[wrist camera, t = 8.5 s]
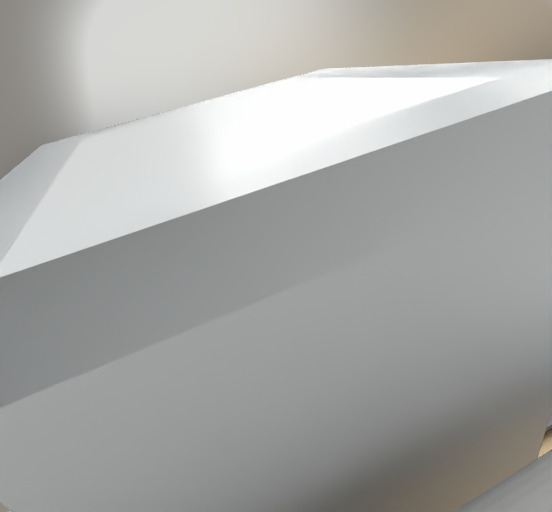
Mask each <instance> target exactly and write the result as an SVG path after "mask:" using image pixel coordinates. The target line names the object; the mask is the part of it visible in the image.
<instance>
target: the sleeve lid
mask: <svg viewBox="0 0 552 512" xmlns="http://www.w3.org/2000/svg"><path fill="white" fill-rule="evenodd" d="M551 411H552V59H547V60H546V59H545V60H523V61H498V62H475V63H450V64H429V65H428V64H427V65H405V66H404V65H403V66H379V67H356V68H332V69H321V70H317V71H314V72H310V73H306V74H303V75H299V76H295V77H291V78H288V79H284V80H280V81H277V82H273V83H269V84H266V85H262V86H258V87H255V88H251V89H247V90H244V91H240V92H236V93H233V94H229V95H225V96H221V97H218V98H214V99H210V100H207V101H203V102H199V103H196V104H192V105H188V106H185V107H181V108H177V109H174V110H170V111H166V112H163V113H159V114H155V115H152V116H148V117H144V118H140V119H136V120H133V121H129V122H125V123H122V124H118V125H114V126H111V127H107V128H103V129H100V130H96V131H92V132H89V133H85V134H81V135H78V136H74V137H70V138H67V139H63V140H59V141H56V142H52V143H48V144H45V145H41V146H40V147H39V148H38V149H37V150H35V151H34V152H33V153H32V154H31V155H30V156H28V157H27V158H26V159H25V160H24V161H23V162H21V163H20V164H19V165H18V166H17V167H15V168H14V169H13V170H12V171H11V172H10V173H8V174H7V175H6V176H5V177H3V178H2V179H1V180H0V502H1V503H2V504H4V505H5V506H6V507H7V508H8V509H10V510H11V511H12V512H453V511H455V510H457V509H458V508H460V507H461V506H463V505H465V504H466V503H468V502H469V501H471V500H473V499H474V498H476V497H477V496H479V495H481V494H482V493H484V492H485V491H487V490H488V489H490V488H492V487H493V486H495V485H496V484H498V483H500V482H501V481H503V480H504V479H506V478H508V477H509V476H511V475H512V474H514V473H516V472H517V471H519V470H520V469H522V468H523V467H525V466H527V465H528V464H530V463H531V462H533V461H535V460H536V459H537V458H538V455H539V451H540V448H541V445H542V441H543V438H544V434H545V431H546V428H547V424H548V421H549V418H550V414H551Z"/></svg>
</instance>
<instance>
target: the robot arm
mask: <svg viewBox="0 0 552 512" xmlns="http://www.w3.org/2000/svg"><path fill="white" fill-rule="evenodd" d="M453 512H552V450H551V451H549V452H547V453H546V454H544V455H543V456H541V457H539V458H538V459H536V460H535V461H533V462H531V463H530V464H528V465H527V466H525V467H523V468H522V469H520V470H519V471H517V472H516V473H514V474H512V475H511V476H509V477H508V478H506V479H504V480H503V481H501V482H500V483H498V484H496V485H495V486H493V487H492V488H490V489H488V490H487V491H485V492H484V493H482V494H481V495H479V496H477V497H476V498H474V499H473V500H471V501H469V502H468V503H466V504H465V505H463V506H461V507H460V508H458V509H457V510H455V511H453Z"/></svg>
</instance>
